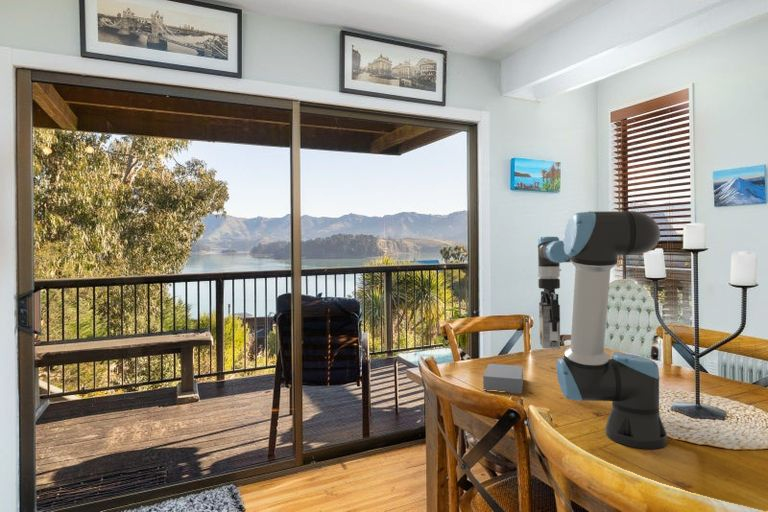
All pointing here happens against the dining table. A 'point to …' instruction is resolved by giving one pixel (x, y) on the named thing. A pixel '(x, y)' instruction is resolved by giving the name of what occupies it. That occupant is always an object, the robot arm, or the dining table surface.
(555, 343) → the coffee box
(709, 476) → the dining table surface
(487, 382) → the grey flat block
